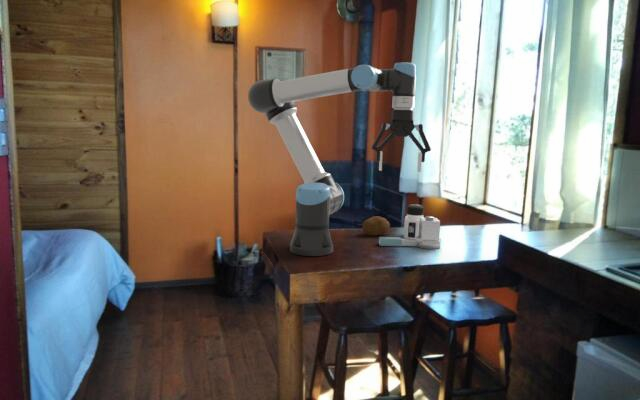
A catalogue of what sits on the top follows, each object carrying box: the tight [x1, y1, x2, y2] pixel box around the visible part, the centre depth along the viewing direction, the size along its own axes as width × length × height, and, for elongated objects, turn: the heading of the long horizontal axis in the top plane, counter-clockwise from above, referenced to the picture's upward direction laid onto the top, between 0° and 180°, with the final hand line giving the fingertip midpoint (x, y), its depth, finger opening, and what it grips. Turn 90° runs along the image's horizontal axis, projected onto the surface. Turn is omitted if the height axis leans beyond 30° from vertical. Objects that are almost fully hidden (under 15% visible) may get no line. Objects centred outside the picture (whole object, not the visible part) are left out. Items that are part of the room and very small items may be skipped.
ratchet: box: [378, 236, 441, 250], centre depth 193 cm, size 22×9×8 cm, turn 89°
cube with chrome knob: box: [419, 215, 441, 241], centre depth 192 cm, size 6×6×8 cm
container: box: [403, 204, 425, 239], centre depth 206 cm, size 8×8×13 cm
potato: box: [362, 215, 391, 236], centre depth 208 cm, size 8×12×8 cm, turn 122°
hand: (399, 171), depth 181 cm, fingers open, 13 cm apart
